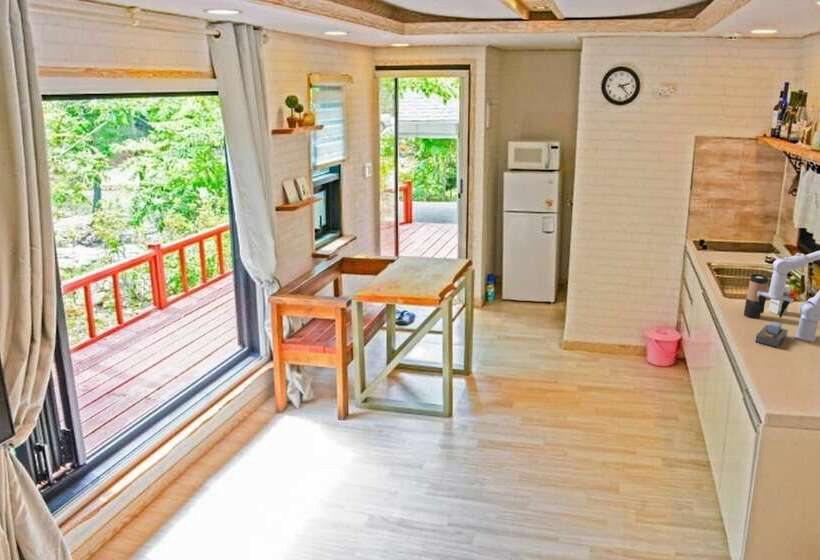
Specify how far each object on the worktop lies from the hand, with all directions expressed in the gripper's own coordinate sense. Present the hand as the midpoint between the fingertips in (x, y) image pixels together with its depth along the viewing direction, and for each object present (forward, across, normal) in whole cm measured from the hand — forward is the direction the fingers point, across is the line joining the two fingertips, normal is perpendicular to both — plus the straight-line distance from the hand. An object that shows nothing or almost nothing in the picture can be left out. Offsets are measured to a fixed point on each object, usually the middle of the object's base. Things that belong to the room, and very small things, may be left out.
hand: (771, 314), depth 326 cm
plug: (+9, +3, -4) cm, 10 cm away
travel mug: (+10, -12, +23) cm, 27 cm away
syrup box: (+10, -3, +38) cm, 40 cm away
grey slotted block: (+9, +3, -7) cm, 12 cm away
